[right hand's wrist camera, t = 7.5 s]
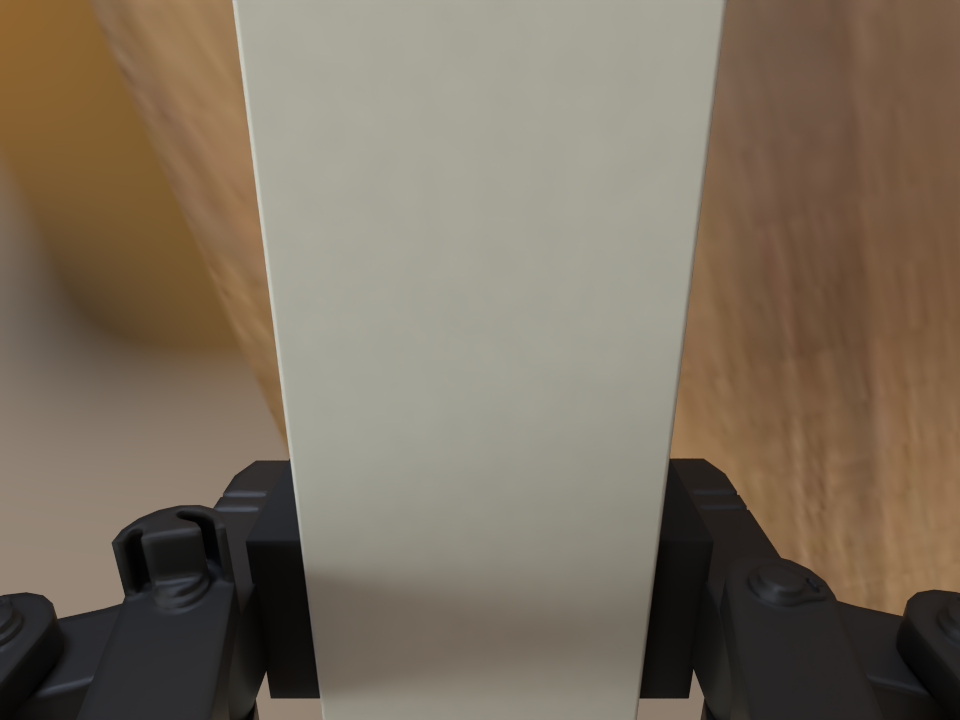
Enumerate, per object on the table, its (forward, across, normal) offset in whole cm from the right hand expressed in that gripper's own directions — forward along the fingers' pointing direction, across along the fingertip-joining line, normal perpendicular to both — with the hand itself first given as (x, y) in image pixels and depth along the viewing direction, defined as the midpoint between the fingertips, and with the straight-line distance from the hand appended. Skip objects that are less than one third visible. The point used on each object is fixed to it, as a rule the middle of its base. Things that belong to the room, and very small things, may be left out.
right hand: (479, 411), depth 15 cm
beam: (+1, 0, -21) cm, 21 cm away
